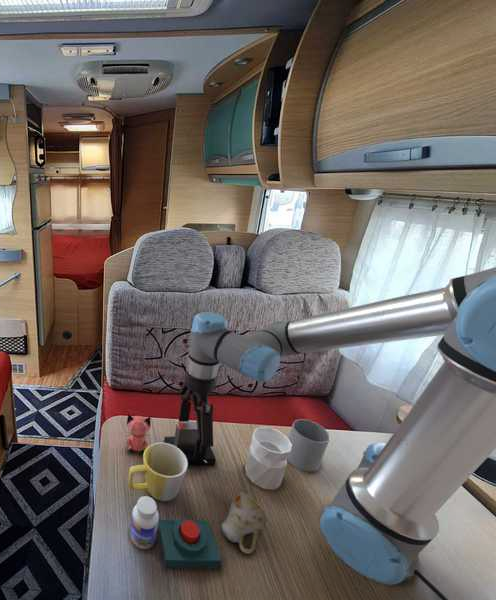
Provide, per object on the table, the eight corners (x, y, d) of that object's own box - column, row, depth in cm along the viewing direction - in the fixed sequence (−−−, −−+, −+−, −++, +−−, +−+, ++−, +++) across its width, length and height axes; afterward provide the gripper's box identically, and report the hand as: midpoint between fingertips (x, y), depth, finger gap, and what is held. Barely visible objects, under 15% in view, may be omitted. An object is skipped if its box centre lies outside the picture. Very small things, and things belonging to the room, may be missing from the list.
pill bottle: (126, 542, 69) (129, 511, 65) (134, 519, 74) (137, 488, 70) (152, 554, 67) (156, 522, 63) (158, 530, 72) (162, 498, 68)
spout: (201, 443, 92) (205, 421, 89) (205, 450, 89) (209, 428, 86) (173, 443, 91) (176, 421, 88) (176, 451, 89) (179, 428, 86)
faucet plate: (202, 439, 96) (204, 432, 95) (216, 470, 86) (218, 462, 85) (162, 439, 96) (163, 432, 95) (171, 470, 86) (172, 463, 85)
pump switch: (206, 526, 72) (209, 514, 71) (219, 567, 65) (223, 554, 64) (157, 526, 72) (159, 514, 71) (164, 567, 65) (166, 554, 63)
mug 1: (177, 473, 85) (182, 442, 81) (187, 510, 76) (192, 478, 72) (125, 471, 85) (127, 440, 82) (128, 509, 76) (130, 476, 72)
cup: (326, 472, 86) (337, 443, 83) (294, 471, 87) (304, 442, 83) (307, 447, 94) (316, 419, 91) (278, 446, 94) (286, 418, 91)
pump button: (195, 525, 69) (196, 520, 68) (200, 543, 66) (201, 538, 65) (178, 525, 69) (179, 520, 68) (182, 543, 66) (183, 538, 65)
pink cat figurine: (123, 456, 90) (125, 422, 85) (124, 438, 96) (127, 405, 92) (149, 460, 89) (152, 425, 85) (148, 441, 95) (152, 408, 91)
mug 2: (209, 531, 72) (221, 486, 72) (236, 529, 77) (247, 486, 77) (239, 557, 65) (252, 507, 66) (266, 553, 70) (278, 506, 71)
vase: (287, 479, 84) (299, 443, 80) (269, 496, 80) (280, 459, 75) (255, 456, 91) (264, 422, 87) (237, 471, 86) (245, 435, 82)
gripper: (238, 405, 70) (222, 478, 78) (199, 347, 93) (190, 407, 101) (203, 406, 70) (191, 478, 77) (173, 347, 93) (166, 407, 101)
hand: (190, 438), depth 89 cm, fingers open, 13 cm apart
